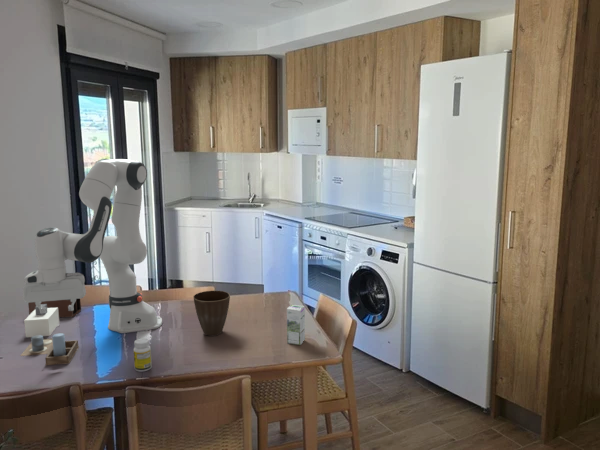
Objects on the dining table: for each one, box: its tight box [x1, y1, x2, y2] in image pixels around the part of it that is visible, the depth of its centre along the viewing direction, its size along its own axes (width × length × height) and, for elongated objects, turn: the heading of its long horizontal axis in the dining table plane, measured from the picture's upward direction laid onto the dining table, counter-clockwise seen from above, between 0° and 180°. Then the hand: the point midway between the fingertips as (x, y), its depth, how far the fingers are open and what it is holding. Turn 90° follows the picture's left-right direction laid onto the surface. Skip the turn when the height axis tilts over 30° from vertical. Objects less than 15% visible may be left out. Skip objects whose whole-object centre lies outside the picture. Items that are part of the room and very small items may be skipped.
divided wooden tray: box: [44, 339, 80, 366], centre depth 192 cm, size 8×15×4 cm, turn 11°
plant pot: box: [192, 290, 231, 337], centre depth 216 cm, size 15×15×16 cm
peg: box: [51, 333, 66, 356], centre depth 188 cm, size 4×4×9 cm
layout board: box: [19, 335, 53, 357], centre depth 201 cm, size 10×16×6 cm, turn 11°
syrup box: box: [286, 304, 306, 346], centre depth 205 cm, size 6×6×14 cm
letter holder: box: [27, 298, 82, 318], centre depth 241 cm, size 10×20×14 cm, turn 92°
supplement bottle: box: [133, 338, 152, 372], centre depth 183 cm, size 6×6×10 cm
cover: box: [23, 304, 60, 338], centre depth 218 cm, size 9×15×12 cm, turn 11°
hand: (57, 311), depth 186 cm, fingers open, 8 cm apart
